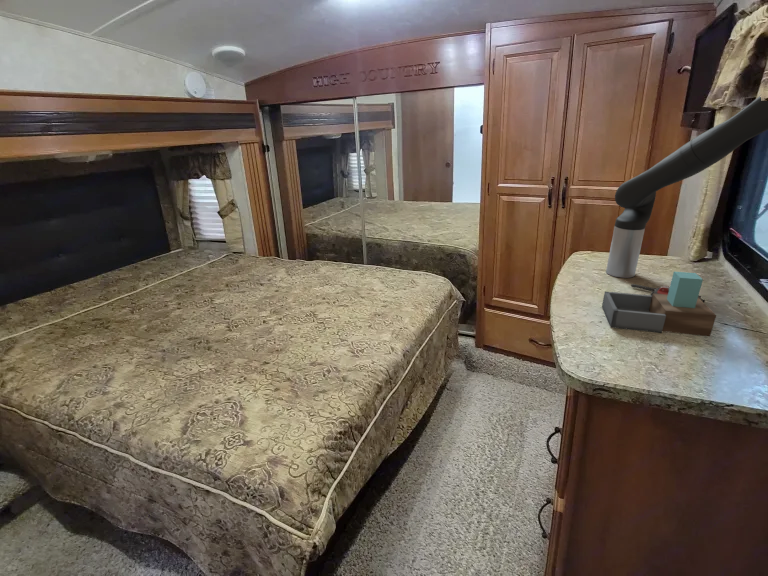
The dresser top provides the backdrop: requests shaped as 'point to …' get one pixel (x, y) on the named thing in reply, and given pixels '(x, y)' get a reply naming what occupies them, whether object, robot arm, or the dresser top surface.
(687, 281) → the block
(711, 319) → the brown box
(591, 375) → the dresser top surface
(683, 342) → the dresser top surface
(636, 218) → the robot arm
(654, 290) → the walkie-talkie
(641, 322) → the box
